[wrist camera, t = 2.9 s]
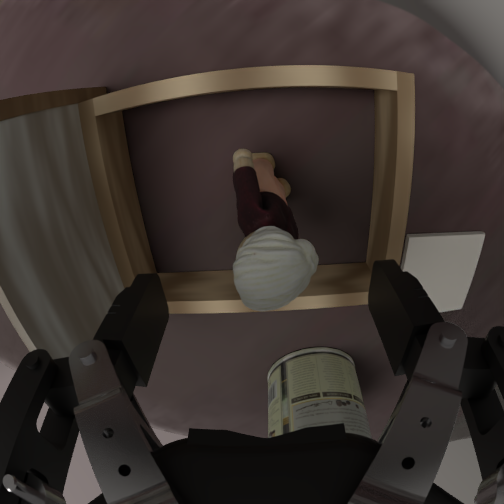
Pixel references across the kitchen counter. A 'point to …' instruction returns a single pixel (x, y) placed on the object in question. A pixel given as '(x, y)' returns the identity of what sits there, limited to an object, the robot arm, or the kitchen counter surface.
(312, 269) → the grandmother figurine
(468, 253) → the tile
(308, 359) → the coffee can
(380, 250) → the cold frame
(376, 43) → the kitchen counter surface
